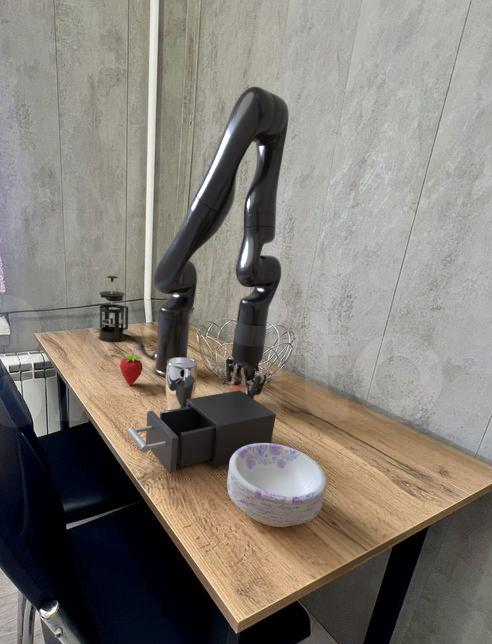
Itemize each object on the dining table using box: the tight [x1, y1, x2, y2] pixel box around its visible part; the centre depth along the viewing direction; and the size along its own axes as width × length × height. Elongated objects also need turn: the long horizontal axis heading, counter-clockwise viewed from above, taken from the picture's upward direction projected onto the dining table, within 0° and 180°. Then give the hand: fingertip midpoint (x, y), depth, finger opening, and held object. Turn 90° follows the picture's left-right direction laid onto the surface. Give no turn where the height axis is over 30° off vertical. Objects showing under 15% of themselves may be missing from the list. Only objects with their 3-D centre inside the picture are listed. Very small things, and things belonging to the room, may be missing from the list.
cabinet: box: [186, 390, 277, 469], centre depth 82 cm, size 14×12×9 cm
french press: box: [98, 275, 129, 343], centre depth 146 cm, size 12×9×23 cm
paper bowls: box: [226, 442, 328, 528], centre depth 65 cm, size 15×15×8 cm
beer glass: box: [164, 357, 198, 411], centre depth 89 cm, size 7×7×15 cm
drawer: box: [126, 406, 216, 474], centre depth 77 cm, size 17×11×7 cm, turn 117°
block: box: [228, 383, 255, 400], centre depth 102 cm, size 5×5×5 cm
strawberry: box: [119, 351, 144, 386], centre depth 109 cm, size 6×8×10 cm
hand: (240, 403), depth 103 cm, fingers closed on block, 4 cm apart
